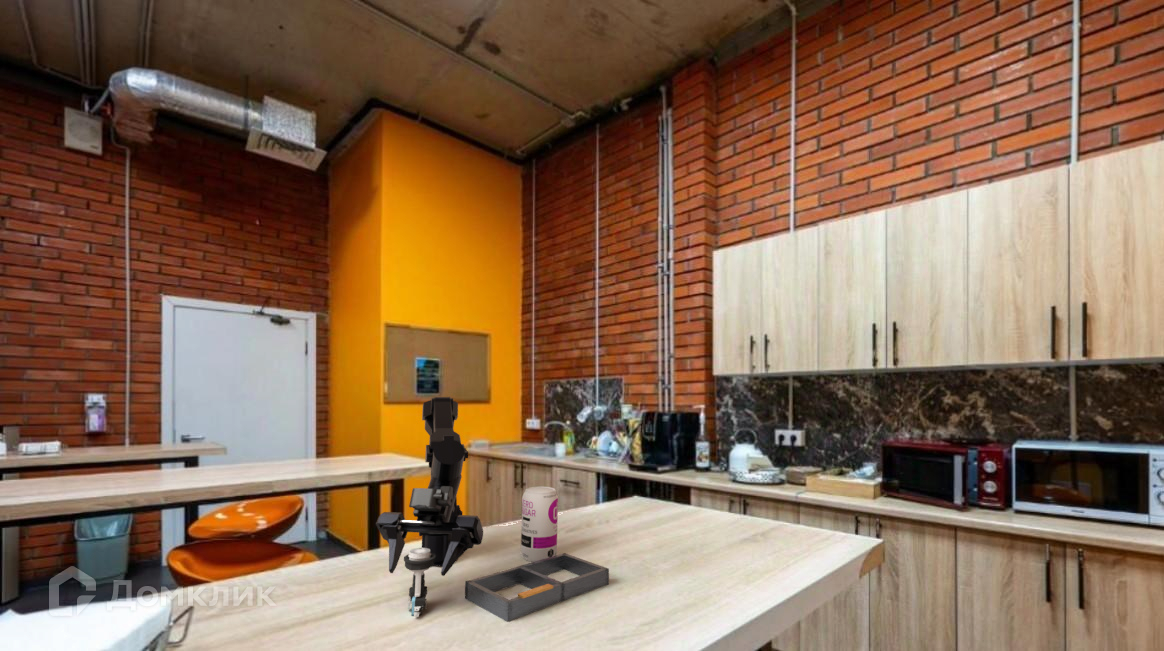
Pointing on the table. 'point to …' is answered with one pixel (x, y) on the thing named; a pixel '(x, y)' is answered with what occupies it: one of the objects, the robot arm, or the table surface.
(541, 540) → the supplement can
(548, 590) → the grey divided tray
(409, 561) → the push button
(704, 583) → the table surface
